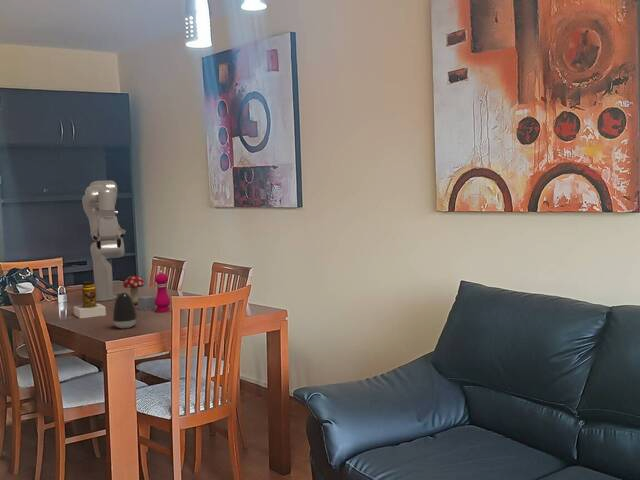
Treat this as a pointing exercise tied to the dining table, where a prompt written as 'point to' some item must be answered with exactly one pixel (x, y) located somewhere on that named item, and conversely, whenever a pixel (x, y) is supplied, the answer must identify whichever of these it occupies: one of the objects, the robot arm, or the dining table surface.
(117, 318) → the dark grey domed cylinder
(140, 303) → the slate cube
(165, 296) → the pepper mill
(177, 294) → the dining table surface
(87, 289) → the condiment
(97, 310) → the cream block
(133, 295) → the decorative mushroom
